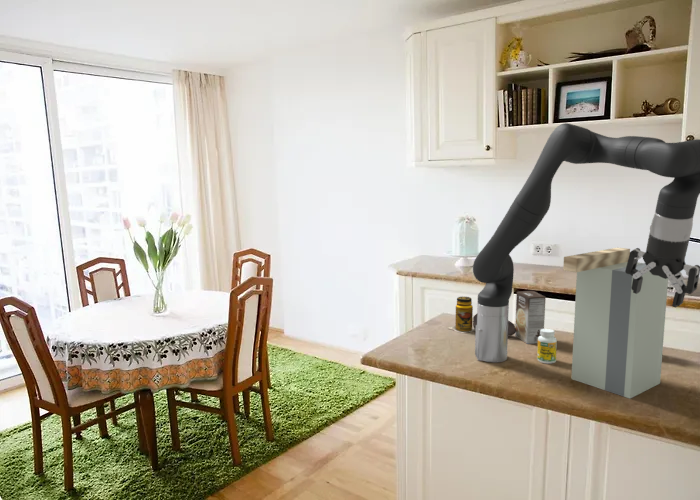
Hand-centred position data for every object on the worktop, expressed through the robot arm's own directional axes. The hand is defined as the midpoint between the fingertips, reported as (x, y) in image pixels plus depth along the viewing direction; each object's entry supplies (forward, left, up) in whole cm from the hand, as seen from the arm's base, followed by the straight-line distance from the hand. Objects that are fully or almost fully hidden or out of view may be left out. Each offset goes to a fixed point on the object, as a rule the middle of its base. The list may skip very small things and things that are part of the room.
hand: (655, 298), depth 119 cm
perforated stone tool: (-24, +60, -28) cm, 71 cm away
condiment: (-34, +66, -28) cm, 80 cm away
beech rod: (-6, +19, +4) cm, 21 cm away
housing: (+1, +19, -28) cm, 34 cm away
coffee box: (-13, +55, -28) cm, 63 cm away
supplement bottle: (-13, +34, -28) cm, 46 cm away
